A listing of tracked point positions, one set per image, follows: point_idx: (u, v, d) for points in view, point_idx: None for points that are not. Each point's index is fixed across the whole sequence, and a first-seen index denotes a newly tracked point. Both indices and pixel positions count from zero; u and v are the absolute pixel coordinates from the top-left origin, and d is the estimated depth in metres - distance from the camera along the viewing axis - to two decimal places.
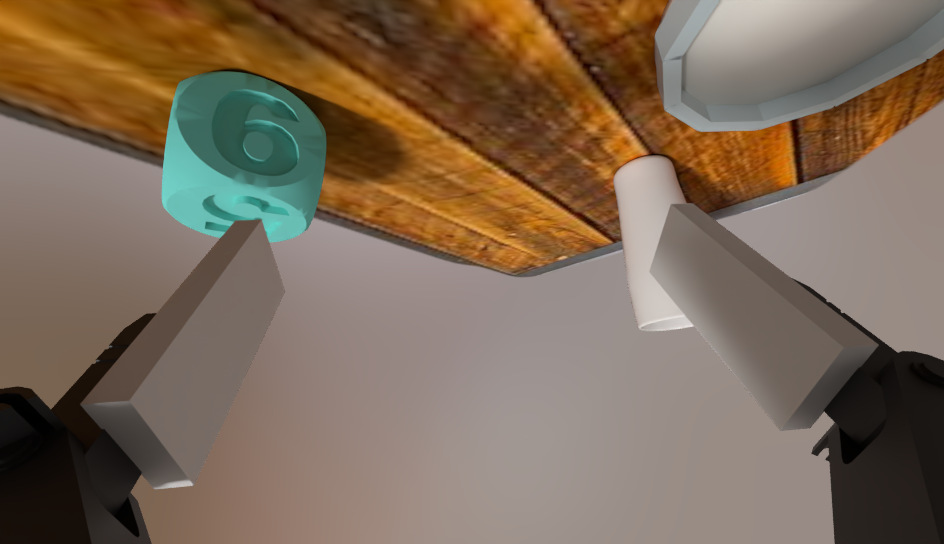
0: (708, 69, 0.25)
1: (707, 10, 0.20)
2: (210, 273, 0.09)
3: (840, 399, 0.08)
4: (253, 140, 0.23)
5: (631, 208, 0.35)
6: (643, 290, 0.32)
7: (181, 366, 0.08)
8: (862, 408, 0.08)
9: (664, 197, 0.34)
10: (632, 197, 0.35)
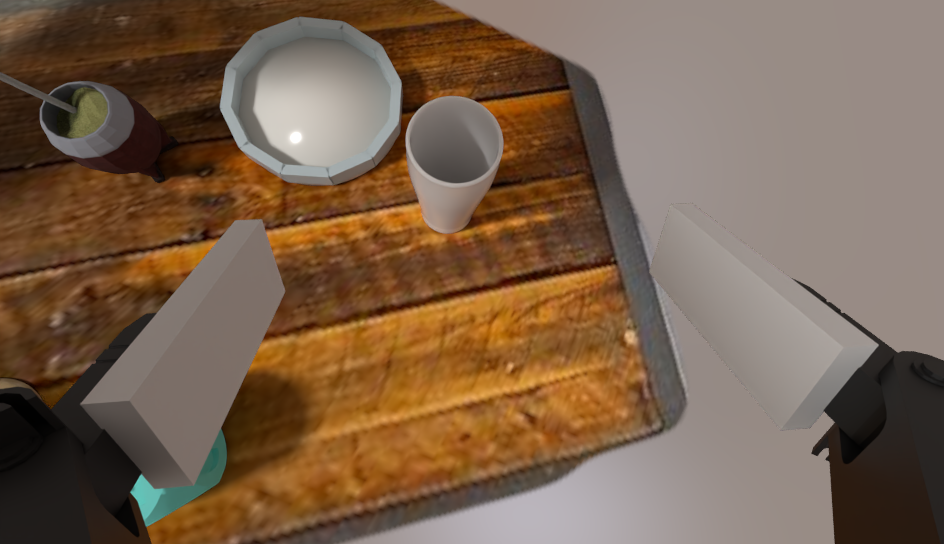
0: (330, 155, 0.40)
1: (257, 151, 0.38)
2: (210, 273, 0.09)
3: (841, 399, 0.08)
4: None
5: (422, 209, 0.36)
6: (415, 183, 0.28)
7: (181, 367, 0.08)
8: (862, 408, 0.08)
9: None
10: (421, 209, 0.37)
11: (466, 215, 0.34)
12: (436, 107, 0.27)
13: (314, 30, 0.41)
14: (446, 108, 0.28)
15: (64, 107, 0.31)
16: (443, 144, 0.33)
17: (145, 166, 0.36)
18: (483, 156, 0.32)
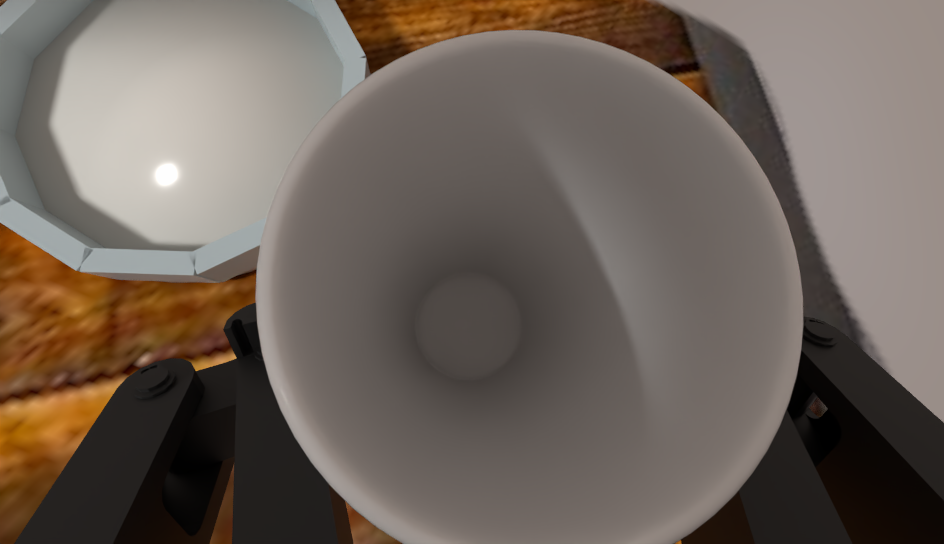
0: (213, 217, 0.18)
1: (28, 218, 0.16)
2: None
3: None
4: None
5: None
6: None
7: None
8: None
9: None
10: None
11: None
12: (435, 92, 0.06)
13: None
14: (481, 98, 0.06)
15: None
16: (462, 212, 0.11)
17: None
18: (589, 252, 0.10)
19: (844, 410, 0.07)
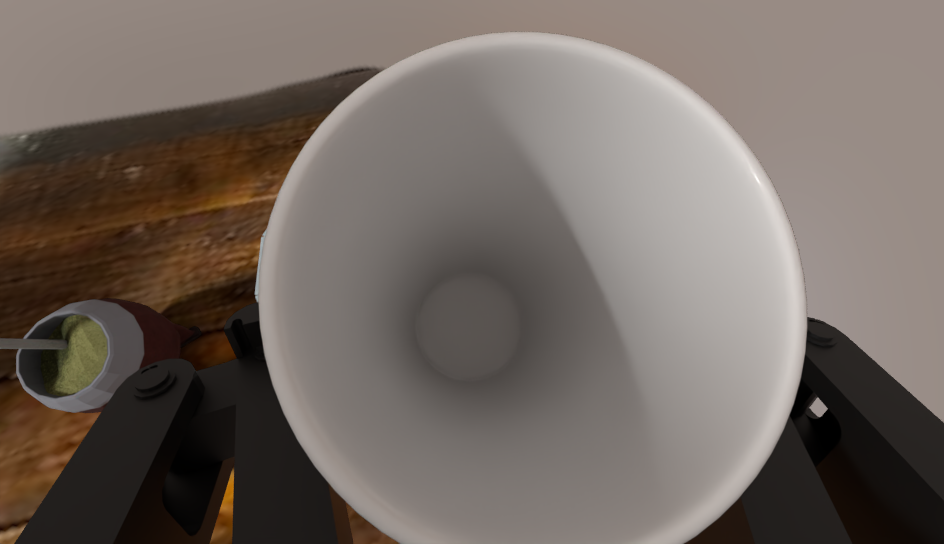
0: None
1: None
2: None
3: None
4: None
5: None
6: None
7: None
8: None
9: None
10: None
11: None
12: (438, 94, 0.06)
13: None
14: (484, 99, 0.06)
15: (49, 348, 0.23)
16: (464, 212, 0.11)
17: None
18: (590, 253, 0.10)
19: (844, 410, 0.07)
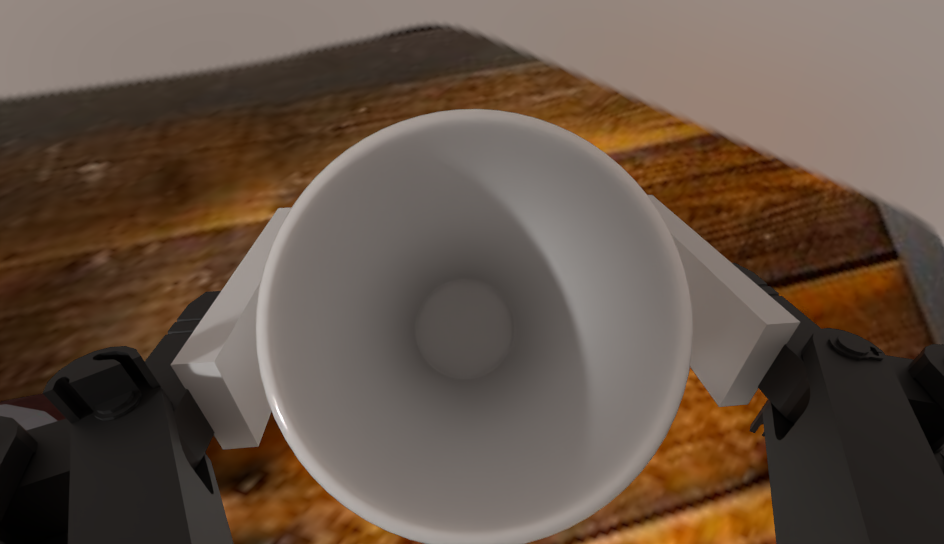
0: None
1: None
2: (264, 254, 0.10)
3: (771, 375, 0.09)
4: None
5: None
6: None
7: (249, 336, 0.09)
8: (789, 385, 0.08)
9: None
10: None
11: None
12: (401, 156, 0.07)
13: None
14: (443, 155, 0.07)
15: None
16: (448, 232, 0.12)
17: None
18: (559, 270, 0.11)
19: None
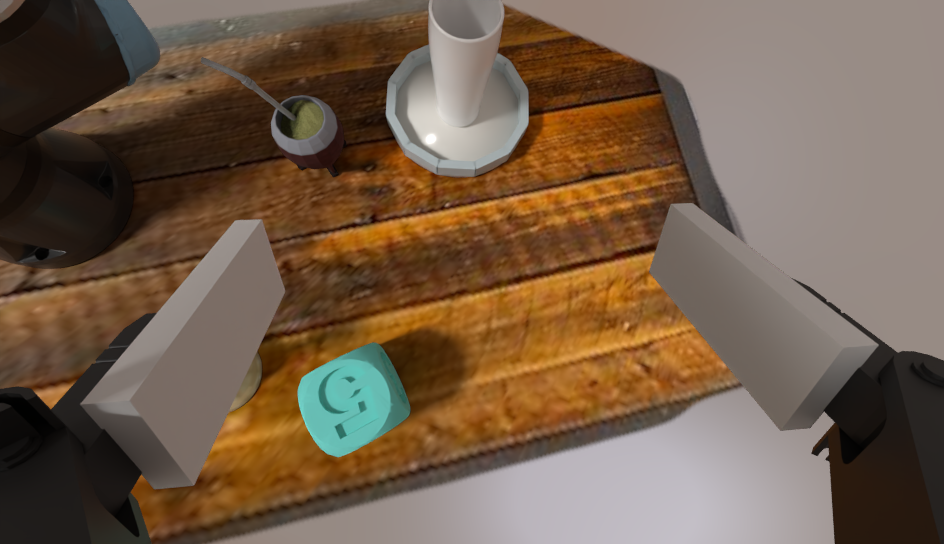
0: (471, 151, 0.48)
1: (417, 149, 0.46)
2: (210, 273, 0.09)
3: (841, 400, 0.08)
4: None
5: (438, 95, 0.44)
6: (435, 50, 0.36)
7: (181, 366, 0.08)
8: (862, 408, 0.08)
9: None
10: (437, 98, 0.45)
11: (474, 95, 0.42)
12: None
13: None
14: None
15: (289, 116, 0.40)
16: (456, 34, 0.41)
17: (333, 162, 0.44)
18: None
19: None
